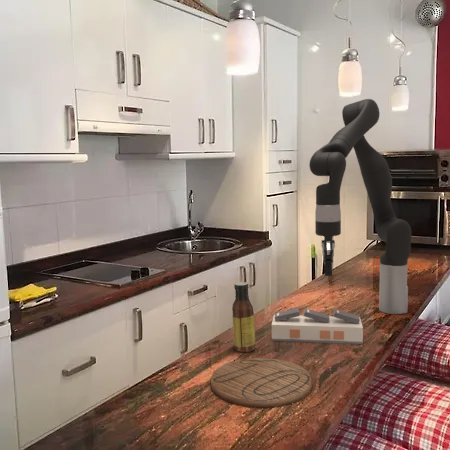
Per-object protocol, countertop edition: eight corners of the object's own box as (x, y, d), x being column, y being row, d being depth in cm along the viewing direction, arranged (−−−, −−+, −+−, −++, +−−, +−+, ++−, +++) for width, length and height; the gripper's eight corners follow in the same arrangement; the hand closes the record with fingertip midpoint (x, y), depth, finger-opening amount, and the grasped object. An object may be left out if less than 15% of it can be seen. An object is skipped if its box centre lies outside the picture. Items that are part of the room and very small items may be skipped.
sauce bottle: (257, 346, 154) (256, 281, 152) (252, 354, 148) (250, 286, 146) (236, 344, 156) (235, 280, 154) (230, 351, 151) (228, 285, 148)
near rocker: (357, 321, 161) (358, 315, 161) (358, 325, 157) (359, 319, 157) (332, 314, 162) (334, 308, 162) (333, 318, 158) (335, 312, 158)
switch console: (359, 332, 164) (359, 317, 164) (362, 344, 154) (363, 328, 154) (274, 329, 169) (274, 314, 168) (271, 340, 159) (271, 325, 158)
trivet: (190, 385, 130) (190, 378, 130) (257, 357, 147) (257, 350, 147) (265, 421, 112) (265, 412, 112) (331, 383, 130) (331, 376, 129)
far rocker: (300, 313, 164) (298, 307, 163) (299, 317, 160) (298, 311, 159) (276, 318, 165) (275, 313, 165) (276, 322, 161) (274, 317, 161)
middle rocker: (327, 320, 162) (329, 314, 162) (327, 324, 158) (329, 318, 158) (303, 313, 163) (305, 307, 163) (303, 317, 159) (305, 311, 159)
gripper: (341, 222, 149) (341, 280, 152) (339, 216, 162) (339, 270, 164) (315, 222, 150) (315, 280, 153) (315, 216, 163) (315, 270, 166)
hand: (328, 275), depth 159 cm, fingers closed
